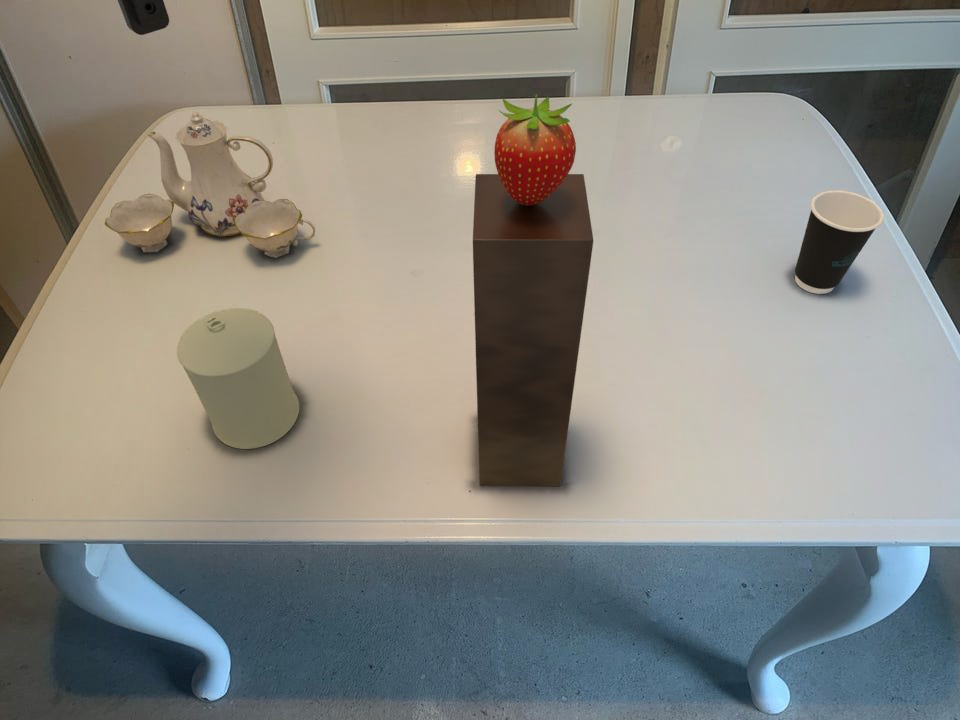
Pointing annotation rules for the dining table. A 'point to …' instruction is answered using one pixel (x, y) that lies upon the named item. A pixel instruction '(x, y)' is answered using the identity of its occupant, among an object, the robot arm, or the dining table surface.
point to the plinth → (527, 327)
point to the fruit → (534, 151)
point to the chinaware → (209, 195)
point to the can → (239, 377)
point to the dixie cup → (834, 238)
